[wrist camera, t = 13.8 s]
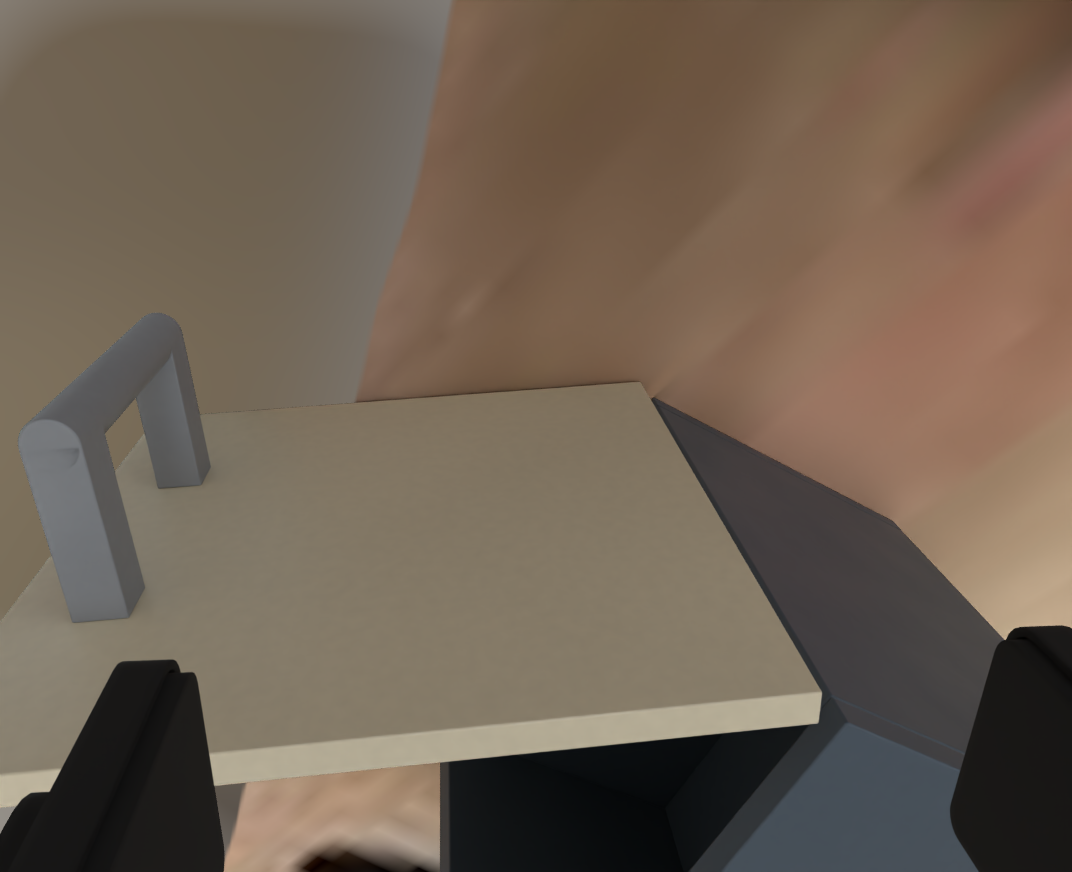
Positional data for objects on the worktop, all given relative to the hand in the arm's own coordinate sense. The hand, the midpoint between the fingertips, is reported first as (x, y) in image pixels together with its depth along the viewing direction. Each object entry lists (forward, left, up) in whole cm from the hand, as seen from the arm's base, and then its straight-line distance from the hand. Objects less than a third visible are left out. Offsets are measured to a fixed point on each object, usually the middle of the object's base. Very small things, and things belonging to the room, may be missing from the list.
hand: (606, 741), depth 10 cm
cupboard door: (+6, -1, -30) cm, 31 cm away
